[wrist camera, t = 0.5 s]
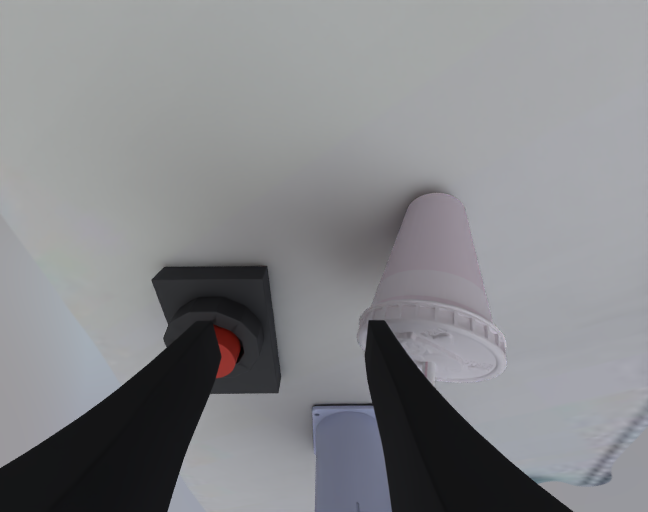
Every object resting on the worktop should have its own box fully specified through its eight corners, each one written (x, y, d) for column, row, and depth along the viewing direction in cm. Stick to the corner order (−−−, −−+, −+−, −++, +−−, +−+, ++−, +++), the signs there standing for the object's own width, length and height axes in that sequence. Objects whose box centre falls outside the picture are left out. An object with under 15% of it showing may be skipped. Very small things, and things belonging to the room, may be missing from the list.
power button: (244, 361, 21) (239, 378, 20) (194, 361, 21) (185, 379, 20) (236, 323, 19) (230, 339, 18) (181, 324, 19) (170, 340, 18)
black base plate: (281, 376, 27) (275, 411, 24) (201, 377, 27) (186, 412, 24) (267, 265, 21) (257, 293, 18) (163, 266, 21) (136, 294, 18)
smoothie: (411, 256, 21) (383, 468, 13) (368, 198, 18) (296, 428, 10) (504, 233, 17) (548, 523, 9) (469, 154, 14) (486, 482, 6)
